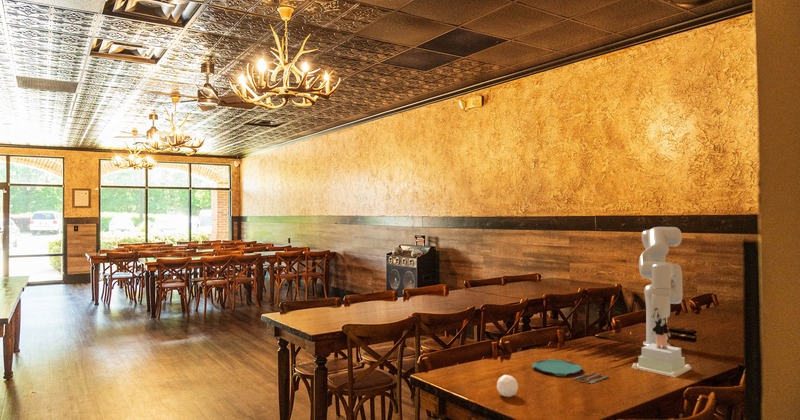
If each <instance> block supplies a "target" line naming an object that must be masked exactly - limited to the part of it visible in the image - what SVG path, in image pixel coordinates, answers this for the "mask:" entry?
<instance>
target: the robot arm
mask: <svg viewBox="0 0 800 420" xmlns="http://www.w3.org/2000/svg"><path fill="white" fill-rule="evenodd" d="M640 236H641V243H642V245H643V247H644V249H645V250H643V251H642V253H641V254H640V255H639V258H638V268H639V269H638V270H639V271H638V272H639V274H640V276H641V277H643V278H645V279H648V280H650V281H651V283H650V284H647V285H646V286H645V287H644V289H643V291H644V293H643V294H644V299H645V310H646V311H645V313H646V314H645V316H646V317H645V320H646V323H645V329H646V330H645V334H646V335H645V339H646V340H645V341H642V344H643V346H647V345H650V344H652V343H655V344H656V334H658V335H664V327H666V328H667V329H668V318H669V317H670V316H671V304H673V305H678V304H681V303H682V301H683V270H682V268H681V265H680V264H678V263H672V262H669V261H666V256H667V255H668V254H669V251H670V248H669V247H678V246H680V245H681V244H682V240H683V233H682V231H681V230H680V228H678V227H676V226H655V227H652V228H650V229H644V230H643V231H642V232H641V235H640ZM663 319H664V320H665V324H664V326H663ZM654 327H655V332H654V333H653V334H651V332H652V329H653V328H654ZM665 334H666V346H671V344H670V343H669V342H667V341H668V339H669V336H668V335H667V333H666V332H665Z"/></svg>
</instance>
